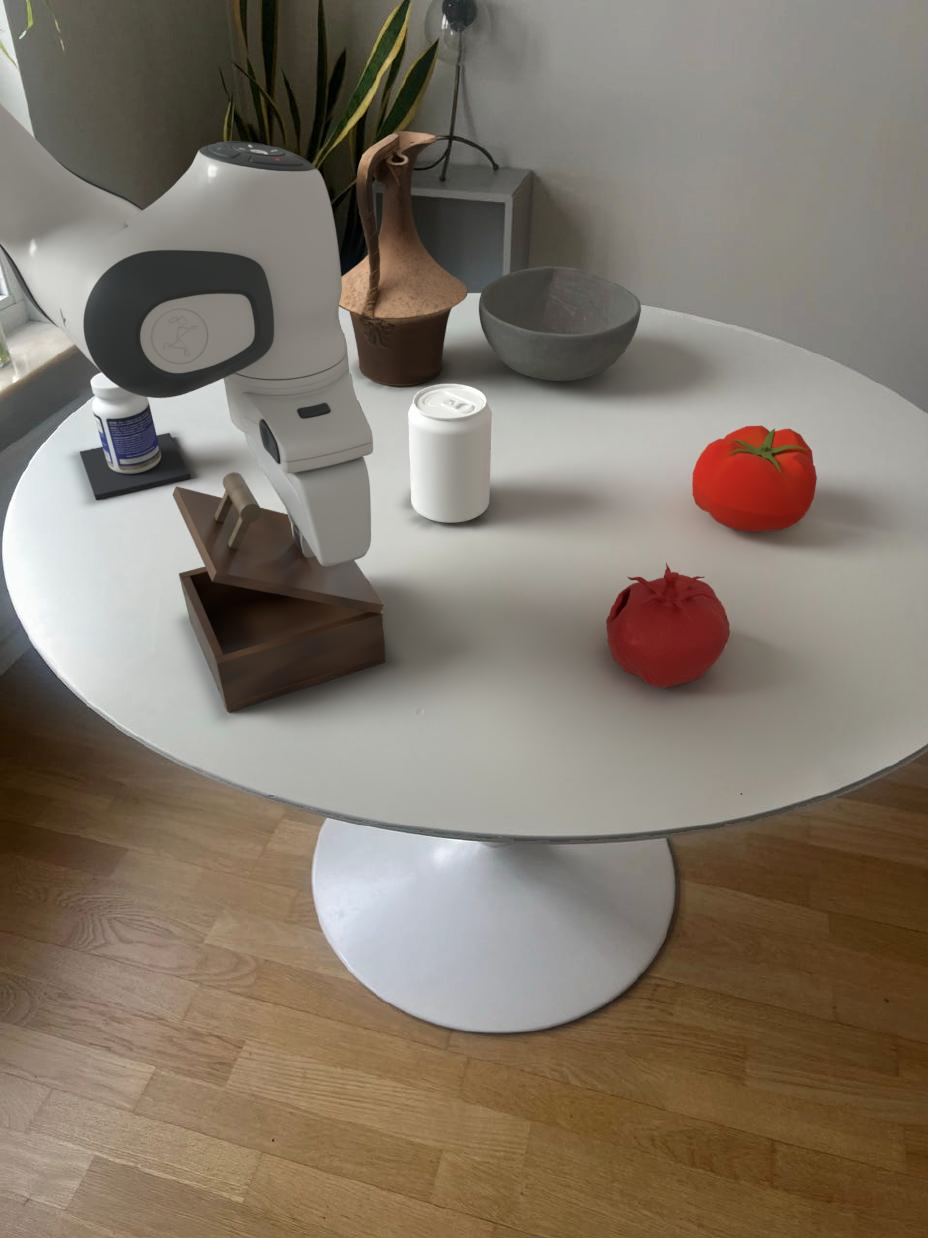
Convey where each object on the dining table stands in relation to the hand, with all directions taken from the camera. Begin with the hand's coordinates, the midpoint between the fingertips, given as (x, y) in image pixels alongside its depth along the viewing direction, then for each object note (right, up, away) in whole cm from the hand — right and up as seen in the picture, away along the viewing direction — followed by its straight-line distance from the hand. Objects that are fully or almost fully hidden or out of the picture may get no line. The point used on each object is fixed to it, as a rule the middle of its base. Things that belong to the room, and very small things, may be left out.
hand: (309, 546), depth 76 cm
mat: (-24, +11, +27) cm, 37 cm away
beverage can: (+11, +6, +21) cm, 25 cm away
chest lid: (-2, -1, -1) cm, 3 cm away
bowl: (+24, +26, +46) cm, 58 cm away
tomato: (+42, +5, +20) cm, 47 cm away
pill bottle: (-23, +11, +26) cm, 37 cm away
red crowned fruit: (+29, -9, +3) cm, 31 cm away
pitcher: (+4, +27, +46) cm, 53 cm away
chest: (-3, -8, +5) cm, 10 cm away
